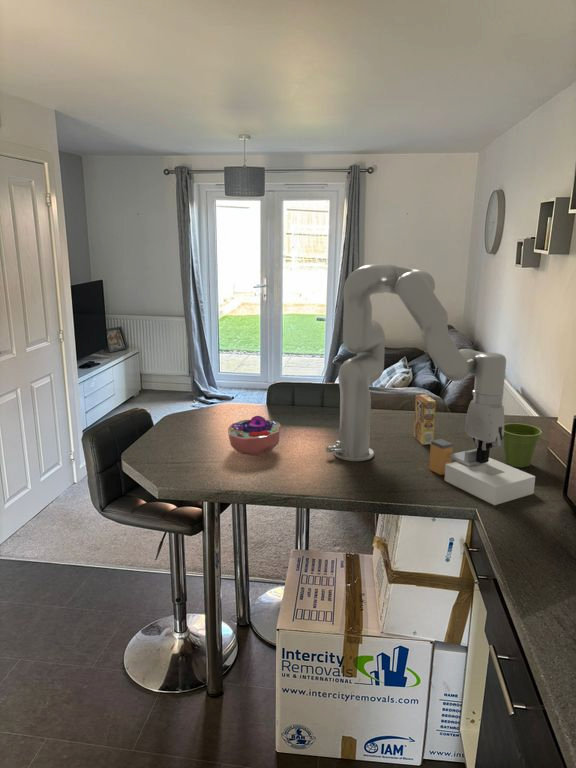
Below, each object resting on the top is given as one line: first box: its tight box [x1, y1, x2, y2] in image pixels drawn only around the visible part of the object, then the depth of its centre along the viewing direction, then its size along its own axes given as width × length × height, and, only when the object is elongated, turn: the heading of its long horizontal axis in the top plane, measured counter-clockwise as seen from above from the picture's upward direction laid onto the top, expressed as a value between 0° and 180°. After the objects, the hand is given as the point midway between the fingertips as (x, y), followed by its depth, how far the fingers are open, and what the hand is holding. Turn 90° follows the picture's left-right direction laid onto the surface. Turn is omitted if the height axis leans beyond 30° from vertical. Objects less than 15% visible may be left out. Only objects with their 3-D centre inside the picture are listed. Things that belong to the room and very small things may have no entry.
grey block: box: [449, 448, 480, 466], centre depth 162 cm, size 7×8×4 cm
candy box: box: [413, 394, 437, 446], centre depth 192 cm, size 9×4×15 cm, turn 8°
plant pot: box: [502, 422, 543, 469], centre depth 172 cm, size 12×12×11 cm
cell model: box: [227, 415, 281, 457], centre depth 181 cm, size 17×20×11 cm
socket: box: [444, 457, 536, 506], centre depth 156 cm, size 15×18×5 cm
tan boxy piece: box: [428, 438, 454, 476], centre depth 167 cm, size 4×5×9 cm
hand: (482, 461), depth 158 cm, fingers closed
